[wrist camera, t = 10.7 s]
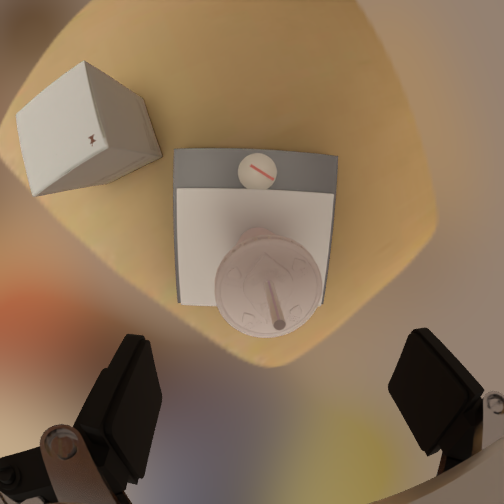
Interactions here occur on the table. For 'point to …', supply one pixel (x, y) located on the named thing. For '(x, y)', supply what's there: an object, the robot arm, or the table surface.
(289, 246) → the smoothie
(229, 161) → the scale
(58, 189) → the supplement box
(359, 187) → the table surface
